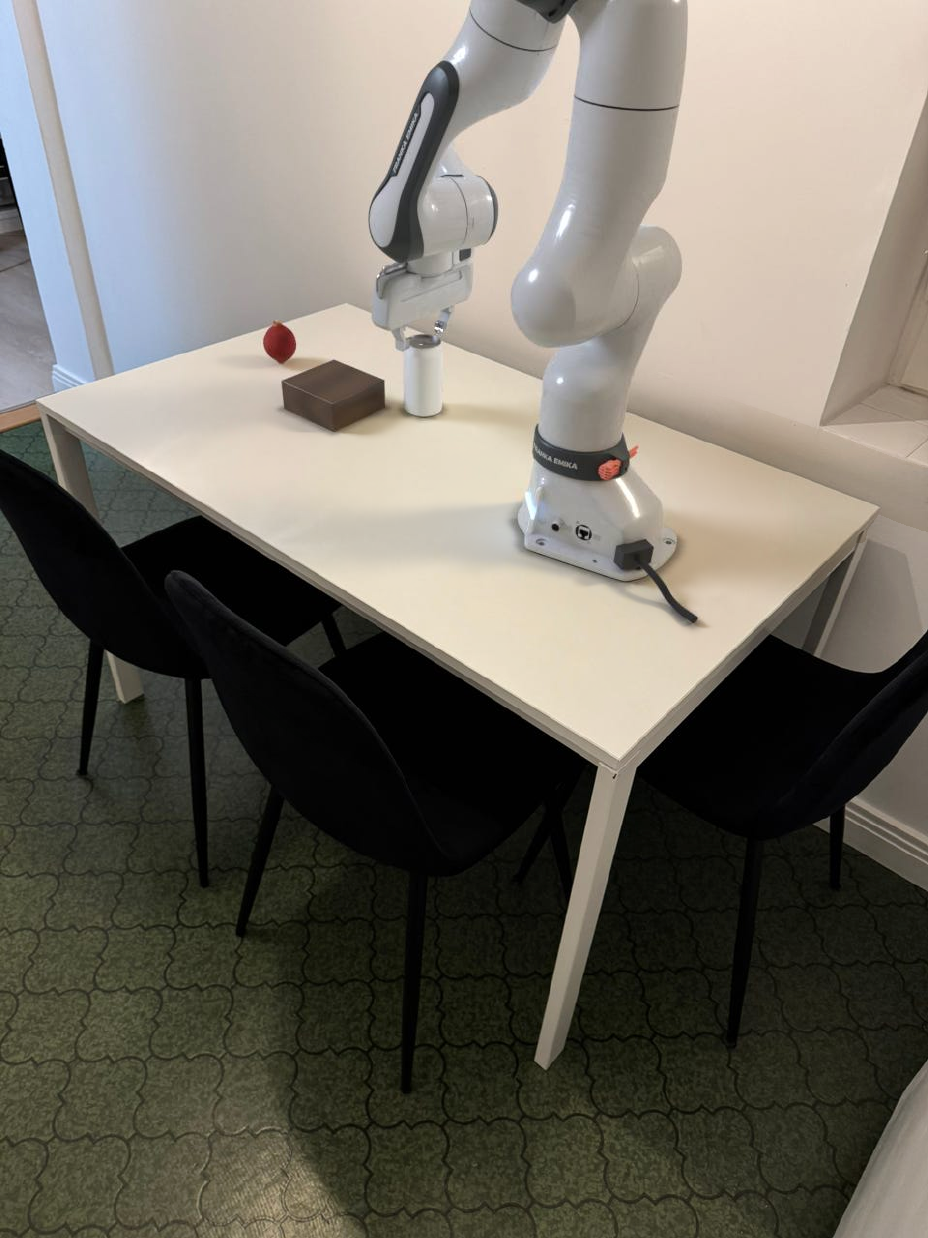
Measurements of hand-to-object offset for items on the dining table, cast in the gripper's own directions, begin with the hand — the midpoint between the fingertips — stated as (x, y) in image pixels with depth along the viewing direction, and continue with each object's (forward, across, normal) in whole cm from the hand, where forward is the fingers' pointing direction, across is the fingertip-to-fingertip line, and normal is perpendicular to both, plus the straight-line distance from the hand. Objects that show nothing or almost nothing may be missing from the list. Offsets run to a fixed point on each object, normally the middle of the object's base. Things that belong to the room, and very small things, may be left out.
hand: (422, 340), depth 146 cm
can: (+12, 0, 0) cm, 12 cm away
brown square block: (+12, -10, +10) cm, 19 cm away
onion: (+13, -4, +30) cm, 33 cm away
